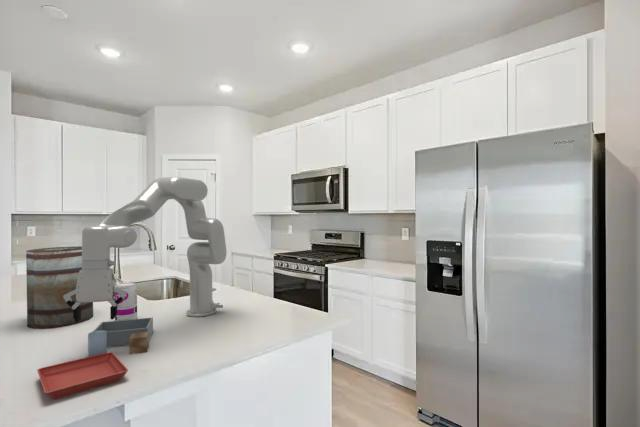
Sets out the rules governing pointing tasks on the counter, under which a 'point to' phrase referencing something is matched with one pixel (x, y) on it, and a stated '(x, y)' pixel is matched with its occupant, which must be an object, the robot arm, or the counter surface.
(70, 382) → the plant saucer
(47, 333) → the counter surface
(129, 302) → the supplement can
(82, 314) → the barrel
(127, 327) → the tote
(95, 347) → the blue cylinder
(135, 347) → the walnut cube
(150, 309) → the counter surface
